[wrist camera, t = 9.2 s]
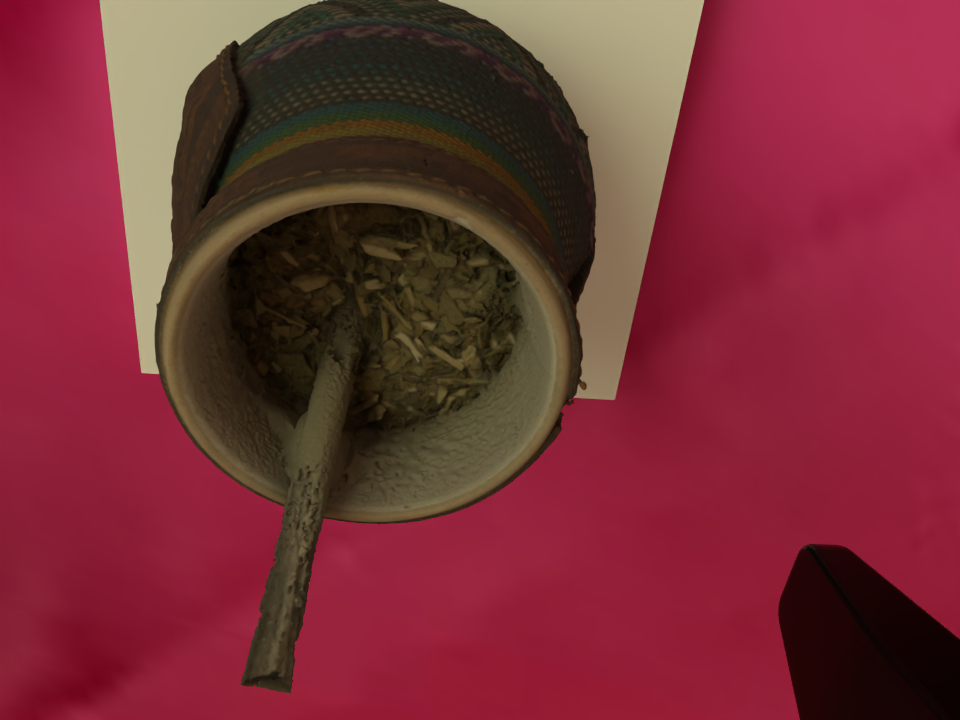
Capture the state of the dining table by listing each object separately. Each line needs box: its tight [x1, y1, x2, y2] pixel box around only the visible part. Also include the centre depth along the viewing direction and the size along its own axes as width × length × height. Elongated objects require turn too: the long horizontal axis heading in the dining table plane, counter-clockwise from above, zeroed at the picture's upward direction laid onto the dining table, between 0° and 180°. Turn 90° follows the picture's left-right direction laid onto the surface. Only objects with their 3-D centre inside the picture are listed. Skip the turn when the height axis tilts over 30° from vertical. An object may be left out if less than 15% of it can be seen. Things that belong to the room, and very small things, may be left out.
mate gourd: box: [154, 0, 596, 693], centre depth 14 cm, size 7×8×10 cm
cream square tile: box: [100, 0, 704, 400], centre depth 19 cm, size 11×11×1 cm
